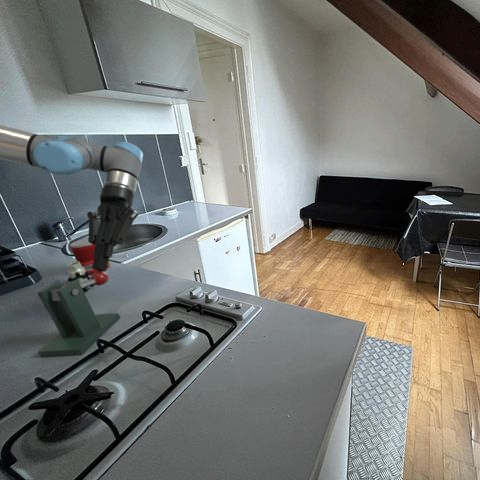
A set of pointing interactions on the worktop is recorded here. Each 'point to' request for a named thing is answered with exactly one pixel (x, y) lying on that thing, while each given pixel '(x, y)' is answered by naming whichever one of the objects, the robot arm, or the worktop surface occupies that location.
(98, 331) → the bracket
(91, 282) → the lever
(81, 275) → the valve
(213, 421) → the worktop surface
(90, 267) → the canned food
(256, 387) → the worktop surface
